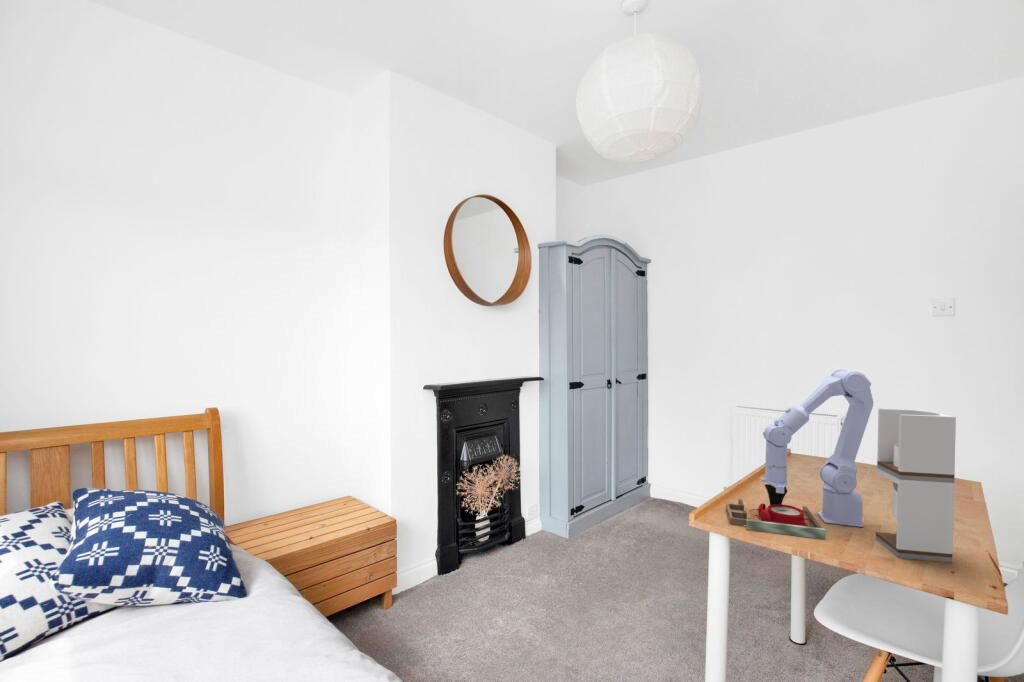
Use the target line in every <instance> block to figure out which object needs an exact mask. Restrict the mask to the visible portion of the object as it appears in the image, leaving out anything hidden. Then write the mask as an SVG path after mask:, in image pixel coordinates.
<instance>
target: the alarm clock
mask: <svg viewBox="0 0 1024 682" xmlns="http://www.w3.org/2000/svg"><path fill="white" fill-rule="evenodd" d="M748 511H749V514H751V515H752V516H754V517H759V518H760V521H765V522H773V523H782V524H790V525H798V526H806V527H809V526H808V524H807V523H806V521H808V520H809V519H807V518H805V515H804V512H803V509H801V508H799V507H796V506H792V505H787V504H783V503H782V504H773V505H770V504H769V505H768V506H767V508H766V504H765V503H760V504H759V505H758V508H756V509H749V510H748ZM751 511H757V513H758V515H757V514H753V513H752V512H751ZM805 513H806V511H805ZM809 521H812V520H809ZM809 521H808V522H809Z"/></svg>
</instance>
